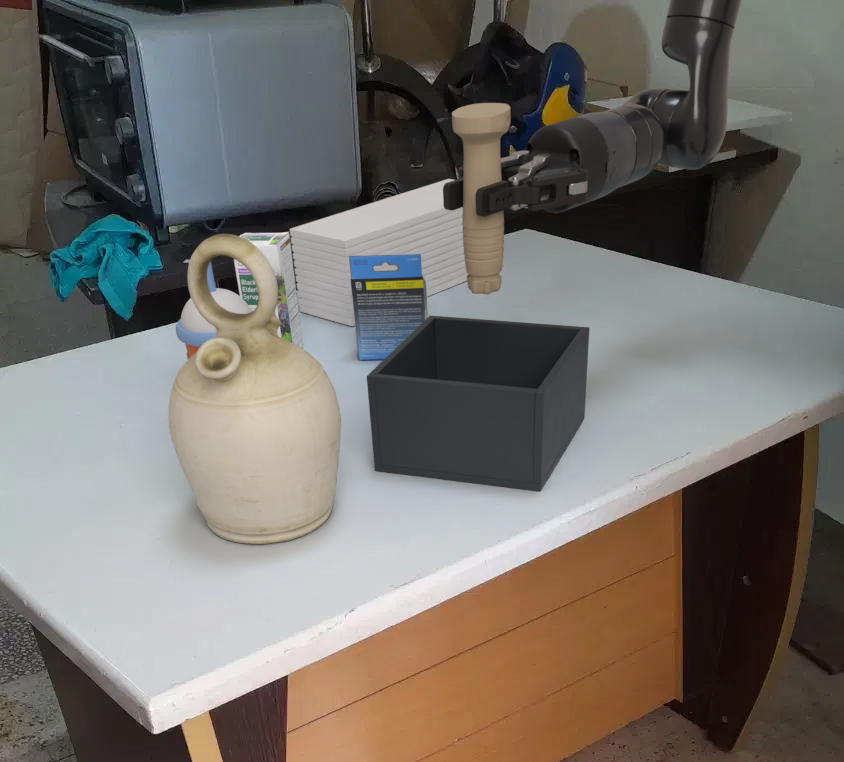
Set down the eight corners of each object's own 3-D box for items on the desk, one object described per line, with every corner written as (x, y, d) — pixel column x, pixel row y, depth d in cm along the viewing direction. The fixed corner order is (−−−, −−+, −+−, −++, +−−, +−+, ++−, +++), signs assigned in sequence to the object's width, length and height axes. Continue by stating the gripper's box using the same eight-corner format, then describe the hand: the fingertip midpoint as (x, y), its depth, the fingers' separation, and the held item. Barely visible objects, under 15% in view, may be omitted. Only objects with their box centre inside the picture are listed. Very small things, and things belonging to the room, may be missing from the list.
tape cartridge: (430, 348, 129) (425, 244, 121) (427, 360, 126) (422, 253, 118) (361, 349, 130) (352, 246, 122) (357, 361, 127) (347, 255, 119)
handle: (450, 300, 97) (443, 118, 87) (469, 278, 101) (465, 103, 91) (499, 302, 95) (498, 117, 85) (516, 280, 100) (517, 102, 90)
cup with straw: (179, 427, 114) (142, 257, 103) (220, 396, 121) (189, 232, 109) (249, 436, 112) (219, 262, 100) (287, 404, 118) (263, 236, 106)
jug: (285, 570, 90) (237, 271, 73) (157, 531, 96) (86, 249, 80) (381, 497, 99) (357, 218, 83) (258, 466, 106) (214, 201, 89)
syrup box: (249, 368, 127) (229, 243, 118) (262, 351, 131) (244, 229, 122) (293, 369, 126) (276, 243, 117) (305, 351, 131) (290, 229, 121)
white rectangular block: (352, 326, 137) (344, 240, 130) (300, 312, 142) (289, 228, 135) (503, 266, 154) (503, 187, 146) (450, 255, 159) (448, 178, 152)
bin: (584, 418, 111) (589, 327, 104) (540, 491, 98) (543, 392, 92) (433, 403, 116) (429, 315, 109) (374, 470, 104) (366, 375, 97)
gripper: (525, 110, 101) (403, 145, 92) (643, 123, 93) (523, 162, 85) (524, 193, 106) (409, 234, 97) (636, 212, 98) (522, 258, 90)
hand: (463, 200), depth 91 cm, fingers closed on handle, 3 cm apart
